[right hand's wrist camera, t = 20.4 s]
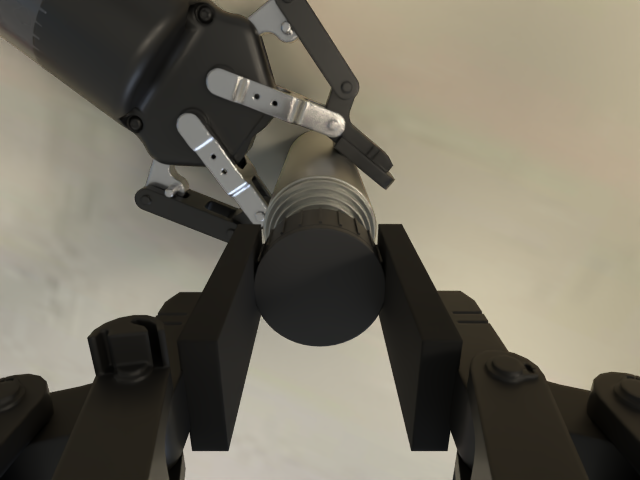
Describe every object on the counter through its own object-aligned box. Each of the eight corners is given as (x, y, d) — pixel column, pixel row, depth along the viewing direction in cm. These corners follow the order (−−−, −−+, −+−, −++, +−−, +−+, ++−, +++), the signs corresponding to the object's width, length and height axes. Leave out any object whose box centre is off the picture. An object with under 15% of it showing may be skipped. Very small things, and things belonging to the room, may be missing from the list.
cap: (256, 205, 14) (247, 225, 12) (383, 206, 14) (393, 226, 12) (262, 315, 15) (254, 347, 13) (376, 316, 15) (384, 348, 13)
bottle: (284, 131, 29) (237, 212, 13) (351, 127, 29) (394, 204, 13) (289, 196, 31) (254, 343, 14) (353, 193, 31) (392, 337, 14)
